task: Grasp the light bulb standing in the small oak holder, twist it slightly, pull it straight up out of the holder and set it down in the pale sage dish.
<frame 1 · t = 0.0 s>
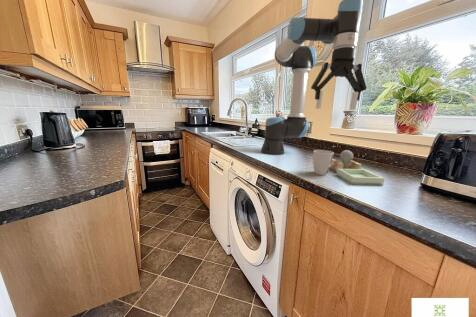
hand: (335, 109, 76), 28 cm above the counter, fingers open, 13 cm apart
light bulb: (344, 171, 93), resting in holder
holder: (344, 170, 93), on the counter
dish: (358, 179, 81), on the counter
cup: (320, 173, 88), on the counter
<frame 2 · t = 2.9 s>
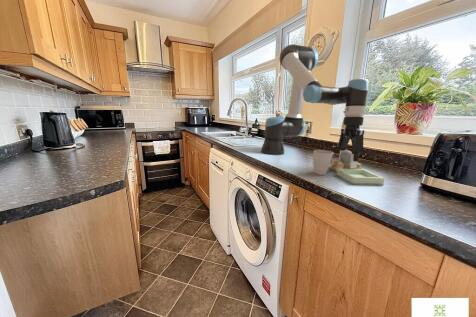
hand: (346, 165, 91), 3 cm above the counter, fingers open, 9 cm apart
nothing on the counter moved.
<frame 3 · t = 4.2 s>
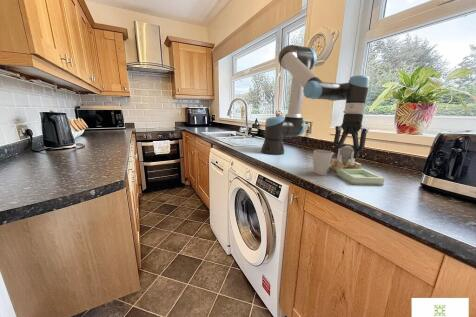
hand: (345, 163, 92), 4 cm above the counter, fingers closed on light bulb, 5 cm apart
light bulb: (344, 166, 93), point 2 cm above the counter, touching gripper
everything else where it was.
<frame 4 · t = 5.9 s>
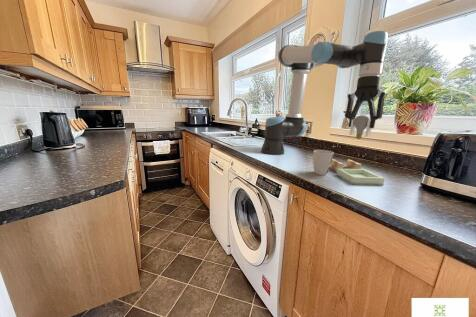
hand: (359, 135, 82), 18 cm above the counter, fingers closed on light bulb, 5 cm apart
light bulb: (358, 139, 82), point 16 cm above the counter, touching gripper
everything else where it was.
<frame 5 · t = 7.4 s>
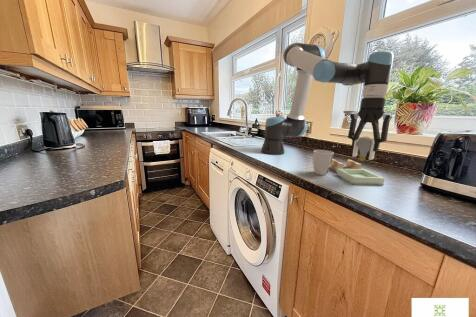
hand: (362, 157, 78), 9 cm above the counter, fingers closed on light bulb, 5 cm apart
light bulb: (361, 161, 79), point 8 cm above the counter, touching gripper
everything else where it was.
when the fingers open (4 cm above the counter, at t = 8.5 s): light bulb drops 1 cm, resting on dish.
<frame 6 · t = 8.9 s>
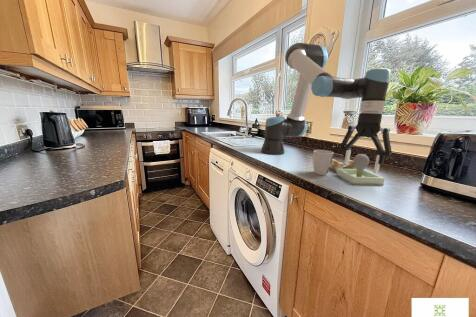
hand: (360, 168, 80), 5 cm above the counter, fingers open, 10 cm apart
light bulb: (358, 178, 80), point 1 cm above the counter, touching dish
everything else where it was.
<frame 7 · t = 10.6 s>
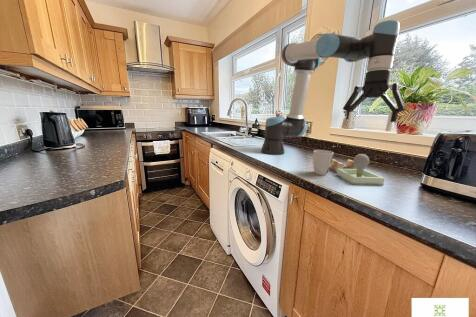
hand: (367, 129, 76), 21 cm above the counter, fingers open, 13 cm apart
nothing on the counter moved.
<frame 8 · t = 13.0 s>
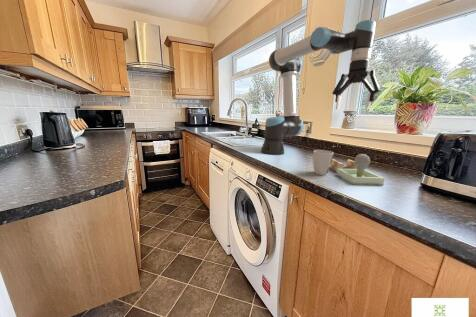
hand: (351, 109, 93), 29 cm above the counter, fingers open, 13 cm apart
nothing on the counter moved.
at the end: light bulb inside the target area on the dish (0.2 cm from its centre), point 0.6 cm above the dish's base; the gripper is holding nothing; light bulb moved 12.7 cm from its start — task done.
